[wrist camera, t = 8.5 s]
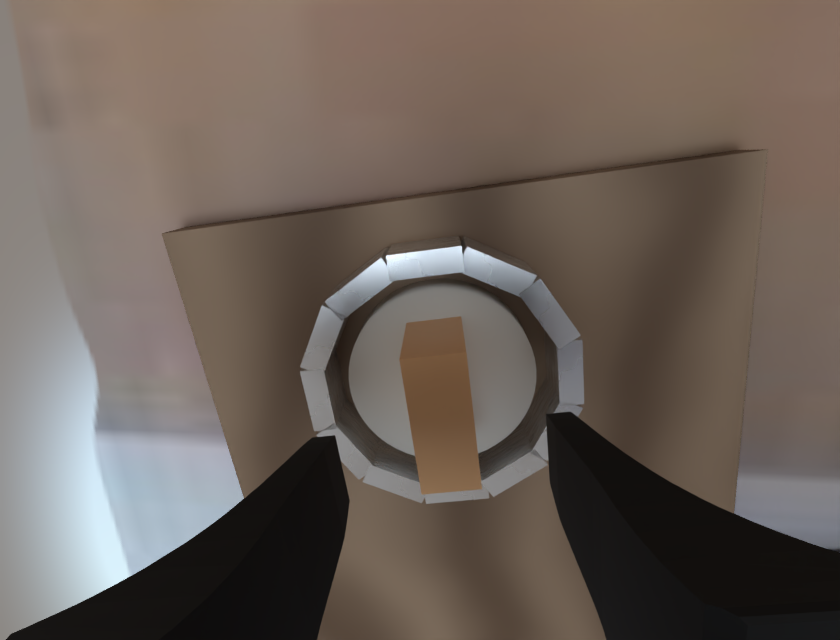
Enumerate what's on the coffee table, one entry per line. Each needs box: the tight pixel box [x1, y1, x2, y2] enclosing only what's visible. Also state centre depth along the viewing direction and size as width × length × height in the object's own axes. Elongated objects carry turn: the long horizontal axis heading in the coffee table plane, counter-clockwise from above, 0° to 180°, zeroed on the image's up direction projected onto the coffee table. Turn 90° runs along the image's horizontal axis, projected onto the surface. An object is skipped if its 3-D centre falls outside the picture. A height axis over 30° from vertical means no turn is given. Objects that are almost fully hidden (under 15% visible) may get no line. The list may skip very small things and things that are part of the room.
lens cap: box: [349, 278, 536, 495], centre depth 15 cm, size 6×6×4 cm
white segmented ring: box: [300, 235, 584, 504], centre depth 17 cm, size 9×9×2 cm
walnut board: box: [162, 149, 768, 640], centre depth 20 cm, size 20×21×2 cm
